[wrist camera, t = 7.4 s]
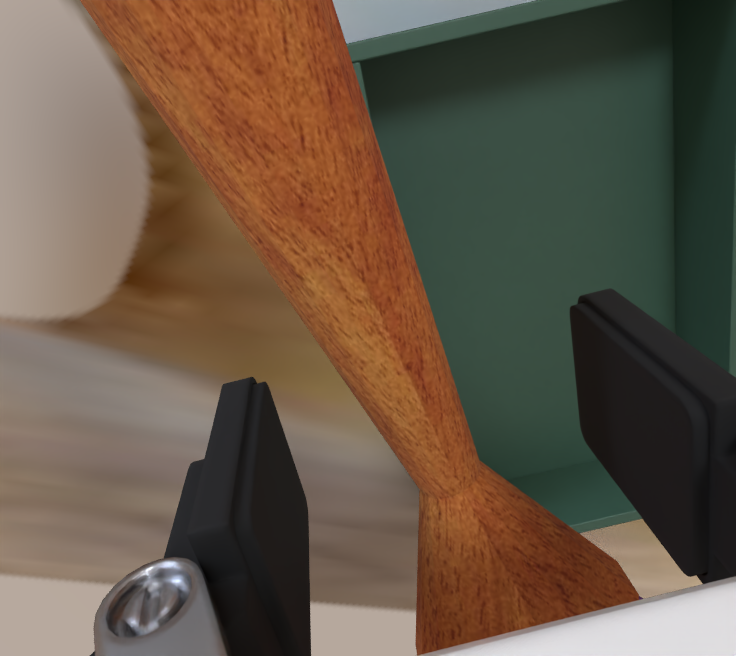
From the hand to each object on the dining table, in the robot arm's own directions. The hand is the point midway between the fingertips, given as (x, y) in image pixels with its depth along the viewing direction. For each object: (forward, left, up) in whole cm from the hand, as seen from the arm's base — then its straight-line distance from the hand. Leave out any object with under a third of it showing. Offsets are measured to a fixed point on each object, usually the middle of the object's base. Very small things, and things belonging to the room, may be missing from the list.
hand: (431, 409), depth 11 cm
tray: (+5, +7, -17) cm, 19 cm away
